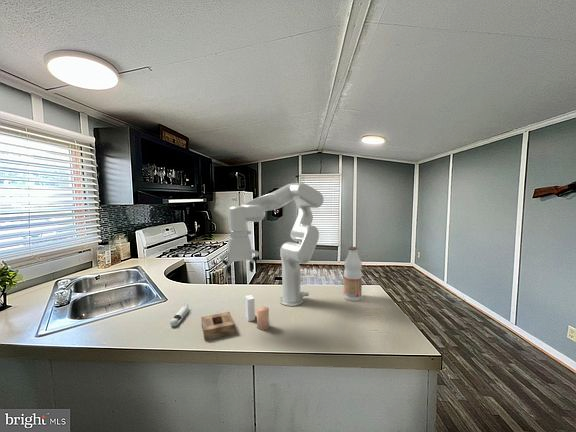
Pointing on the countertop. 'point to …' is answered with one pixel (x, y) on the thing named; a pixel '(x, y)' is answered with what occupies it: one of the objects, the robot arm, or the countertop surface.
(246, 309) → the flat bar peg
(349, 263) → the fruit juice
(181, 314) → the white long slotted part
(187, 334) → the countertop surface
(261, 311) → the round peg
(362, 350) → the countertop surface
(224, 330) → the slot block
